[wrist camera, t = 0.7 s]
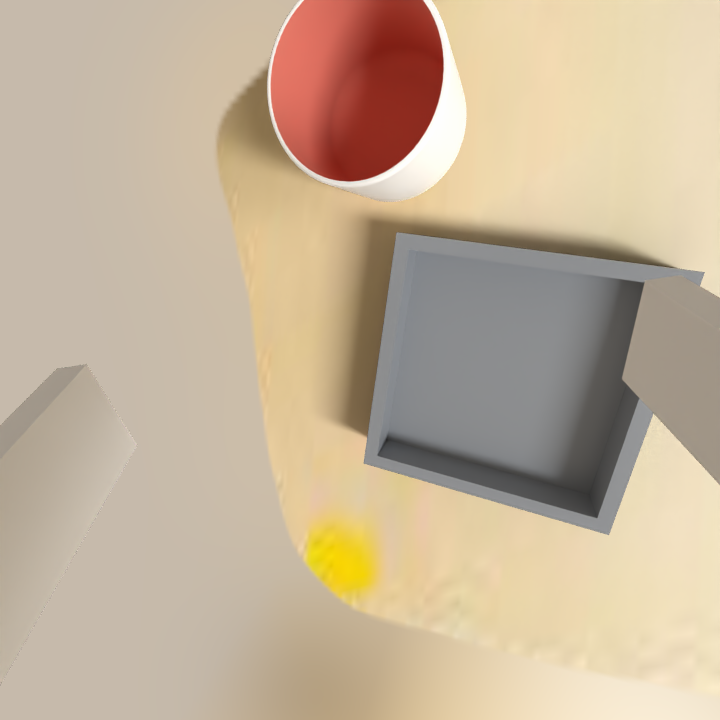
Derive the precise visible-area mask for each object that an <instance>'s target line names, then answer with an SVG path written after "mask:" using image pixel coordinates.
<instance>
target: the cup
mask: <svg viewBox="0 0 720 720" xmlns="http://www.w3.org/2000/svg"><path fill="white" fill-rule="evenodd" d="M267 97H268V107H269V112H270V117H271V121H272V124H273V127H274V130H275V133H276V135H277V138H278V140H279V142H280V144H281V145H282V147H283V149H284V150H285V152H286V153H287V155H288V156H289V157H290V159H291V160H292V161H293V162H294V163H295V164H296V165H297V166H298V167H299V168H300V169H301V170H302V171H303V172H305V173H306V174H307V175H309V176H311V177H312V178H314V179H316V180H318V181H320V182H322V183H325V184H328V185H331V186H334V187H337V188H340V189H343V190H346V191H349V192H352V193H355V194H358V195H361V196H364V197H367V198H370V199H373V200H377V201H382V202H397V201H403V200H407V199H410V198H413V197H416V196H418V195H420V194H422V193H423V192H425V191H427V190H428V189H430V188H431V187H432V186H433V185H435V184H436V183H437V182H438V181H439V180H440V179H441V178H442V177H443V176H444V175H445V173H446V172H447V171H448V170H449V168H450V167H451V165H452V164H453V162H454V160H455V158H456V156H457V154H458V152H459V149H460V147H461V144H462V141H463V137H464V133H465V127H466V101H465V96H464V92H463V88H462V84H461V81H460V78H459V74H458V71H457V67H456V64H455V61H454V57H453V54H452V50H451V47H450V43H449V40H448V36H447V33H446V30H445V27H444V24H443V21H442V18H441V16H440V14H439V12H438V10H437V8H436V6H435V5H434V3H433V2H432V0H299V1H298V2H297V3H296V4H295V5H294V7H293V8H292V10H291V11H290V12H289V14H288V15H287V17H286V19H285V21H284V23H283V25H282V26H281V28H280V31H279V33H278V35H277V38H276V40H275V44H274V46H273V49H272V53H271V58H270V62H269V69H268V78H267Z"/></svg>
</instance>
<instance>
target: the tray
mask: <svg viewBox="0 0 720 720" xmlns="http://www.w3.org/2000/svg"><path fill="white" fill-rule="evenodd" d="M704 273H705V272H698V271H691V270H684V269H677V268H669V267H662V266H654V265H646V264H639V263H631V262H623V261H615V260H608V259H600V258H592V257H585V256H577V255H569V254H562V253H554V252H546V251H539V250H531V249H523V248H515V247H508V246H500V245H492V244H485V243H477V242H469V241H462V240H454V239H446V238H438V237H431V236H423V235H415V234H407V233H398V232H397V233H396V240H395V247H394V254H393V261H392V268H391V275H390V282H389V289H388V296H387V303H386V310H385V317H384V324H383V331H382V338H381V345H380V352H379V359H378V366H377V373H376V380H375V387H374V394H373V401H372V408H371V415H370V422H369V429H368V436H367V443H366V450H365V457H364V464H367V465H371V466H374V467H378V468H381V469H385V470H388V471H391V472H395V473H398V474H402V475H405V476H409V477H412V478H415V479H419V480H422V481H426V482H429V483H433V484H436V485H439V486H443V487H446V488H450V489H453V490H456V491H460V492H463V493H467V494H470V495H474V496H477V497H480V498H484V499H487V500H491V501H494V502H498V503H501V504H504V505H508V506H511V507H515V508H518V509H522V510H525V511H528V512H532V513H535V514H539V515H542V516H546V517H549V518H552V519H556V520H559V521H563V522H566V523H570V524H573V525H576V526H580V527H583V528H587V529H590V530H594V531H597V532H600V533H604V534H607V535H609V533H610V531H611V528H612V525H613V522H614V520H615V517H616V514H617V511H618V509H619V506H620V503H621V500H622V498H623V495H624V492H625V489H626V487H627V484H628V481H629V478H630V476H631V473H632V470H633V468H634V465H635V462H636V459H637V457H638V454H639V451H640V448H641V446H642V443H643V440H644V437H645V435H646V432H647V429H648V426H649V424H650V421H651V418H652V415H653V412H652V411H651V410H650V409H649V408H648V407H647V406H646V405H645V403H644V402H643V401H642V400H641V399H640V398H639V397H638V396H637V395H636V394H635V393H634V392H633V391H632V389H631V388H630V387H629V386H628V385H627V384H626V383H625V382H624V381H623V380H622V376H623V372H624V367H625V363H626V359H627V355H628V350H629V346H630V342H631V338H632V334H633V329H634V325H635V321H636V317H637V312H638V308H639V304H640V300H641V296H642V291H643V287H644V283H645V280H652V279H658V278H665V277H672V276H678V275H681V276H683V277H685V278H686V279H688V280H690V281H691V282H693V283H695V284H697V285H698V286H700V284H701V281H702V278H703V276H704Z"/></svg>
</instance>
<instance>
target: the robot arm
mask: <svg viewBox="0 0 720 720" xmlns="http://www.w3.org/2000/svg"><path fill="white" fill-rule="evenodd" d="M622 380H623V381H624V382H625V383H626V384H627V385H628V386H629V387H630V388H631V389H632V391H633V392H634V393H635V394H636V395H637V396H638V397H639V398H640V399H641V400H642V401H643V402H644V403H645V405H646V406H647V407H648V408H649V409H650V410H651V411H652V412H653V413H654V414H655V415H656V416H657V418H658V419H659V420H660V421H661V422H662V423H663V424H664V425H665V426H666V427H667V428H668V429H669V430H670V432H671V433H672V434H673V435H674V436H675V437H676V438H677V439H678V440H679V441H680V442H681V443H682V445H683V446H684V447H685V448H686V449H687V450H688V451H689V452H690V453H691V454H692V455H693V456H694V457H695V459H696V460H697V461H698V462H699V463H700V464H701V465H702V466H703V467H704V468H705V469H706V470H707V472H708V473H709V474H710V475H711V476H712V477H713V478H714V479H715V480H716V481H717V482H718V483H719V484H720V298H719V297H717V296H716V295H714V294H712V293H710V292H709V291H707V290H705V289H704V288H702V287H700V286H698V285H697V284H695V283H693V282H691V281H690V280H688V279H686V278H685V277H683V276H681V275H678V276H672V277H665V278H658V279H652V280H645V283H644V287H643V291H642V296H641V300H640V304H639V308H638V312H637V317H636V321H635V325H634V329H633V334H632V338H631V342H630V346H629V350H628V355H627V359H626V363H625V367H624V372H623V376H622ZM136 447H137V444H136V442H135V441H134V439H133V438H132V436H131V435H130V433H129V431H128V430H127V428H126V426H125V425H124V423H123V422H122V420H121V418H120V417H119V415H118V414H117V412H116V410H115V409H114V407H113V405H112V404H111V402H110V401H109V399H108V398H107V396H106V394H105V393H104V391H103V389H102V388H101V386H100V385H99V383H98V381H97V380H96V378H95V377H94V375H93V373H92V372H91V370H90V369H89V367H88V365H87V364H85V365H79V366H72V367H65V368H58V369H56V370H55V371H54V372H53V373H52V374H51V375H50V376H49V377H48V378H47V379H46V380H45V381H44V382H43V383H42V384H41V385H40V386H39V387H38V388H37V389H36V390H35V391H34V392H33V393H32V394H31V395H30V396H29V397H28V398H27V399H26V400H25V401H24V402H23V403H22V404H21V405H20V406H19V407H18V408H17V409H16V410H15V411H14V412H13V413H12V414H11V415H10V416H9V417H8V418H7V419H6V420H5V421H4V422H3V423H2V424H1V425H0V685H1V683H2V682H3V680H4V678H5V676H6V675H7V673H8V671H9V669H10V668H11V666H12V664H13V662H14V661H15V659H16V657H17V655H18V654H19V652H20V650H21V648H22V646H23V645H24V643H25V641H26V640H27V638H28V636H29V634H30V633H31V631H32V629H33V627H34V626H35V624H36V622H37V620H38V619H39V617H40V615H41V613H42V612H43V610H44V608H45V606H46V605H47V603H48V601H49V599H50V597H51V596H52V594H53V592H54V590H55V589H56V587H57V585H58V583H59V581H60V580H61V578H62V576H63V575H64V573H65V571H66V569H67V568H68V566H69V564H70V562H71V561H72V559H73V557H74V555H75V553H76V552H77V550H78V548H79V547H80V545H81V543H82V541H83V540H84V538H85V536H86V534H87V533H88V531H89V529H90V527H91V525H92V524H93V522H94V520H95V519H96V517H97V515H98V513H99V511H100V510H101V508H102V506H103V504H104V503H105V501H106V499H107V497H108V496H109V494H110V492H111V490H112V489H113V487H114V485H115V483H116V482H117V480H118V478H119V476H120V475H121V473H122V471H123V469H124V468H125V466H126V464H127V462H128V460H129V459H130V457H131V455H132V454H133V452H134V450H135V448H136Z"/></svg>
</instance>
